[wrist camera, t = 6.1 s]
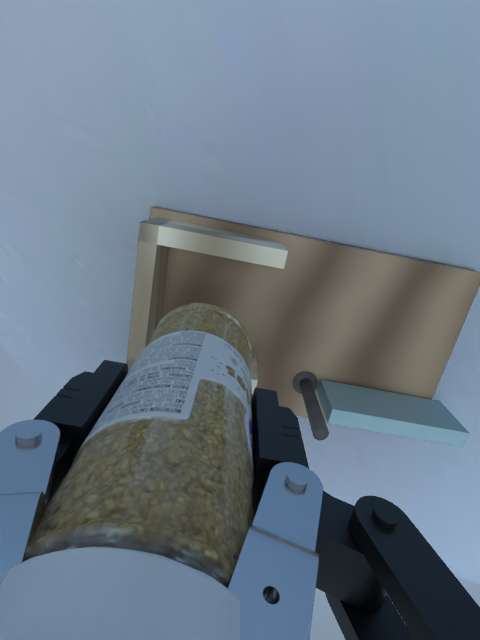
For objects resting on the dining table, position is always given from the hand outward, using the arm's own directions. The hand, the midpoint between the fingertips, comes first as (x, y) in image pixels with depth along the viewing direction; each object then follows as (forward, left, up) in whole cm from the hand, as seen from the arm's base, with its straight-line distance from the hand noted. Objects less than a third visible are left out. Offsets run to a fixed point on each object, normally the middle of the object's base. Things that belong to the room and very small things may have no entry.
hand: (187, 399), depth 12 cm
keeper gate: (-13, +5, -13) cm, 19 cm away
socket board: (-6, +2, -14) cm, 15 cm away
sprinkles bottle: (0, 0, -4) cm, 4 cm away
